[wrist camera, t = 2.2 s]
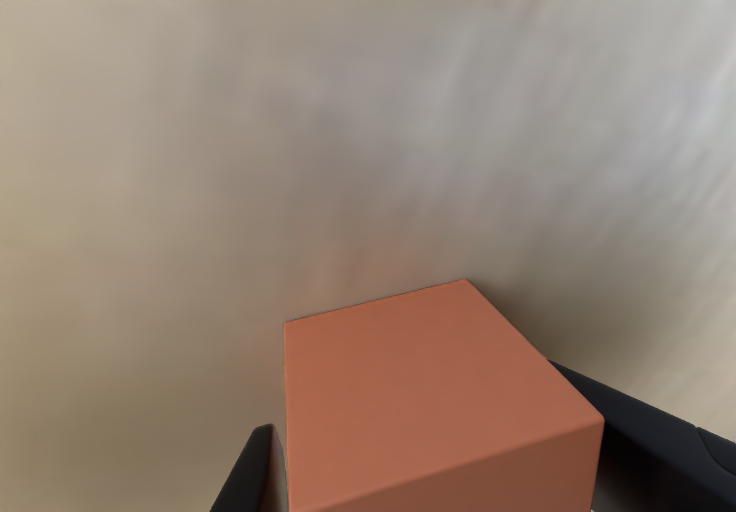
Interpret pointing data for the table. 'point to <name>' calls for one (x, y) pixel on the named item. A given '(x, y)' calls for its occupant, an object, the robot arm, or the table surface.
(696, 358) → the table surface
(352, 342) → the block
